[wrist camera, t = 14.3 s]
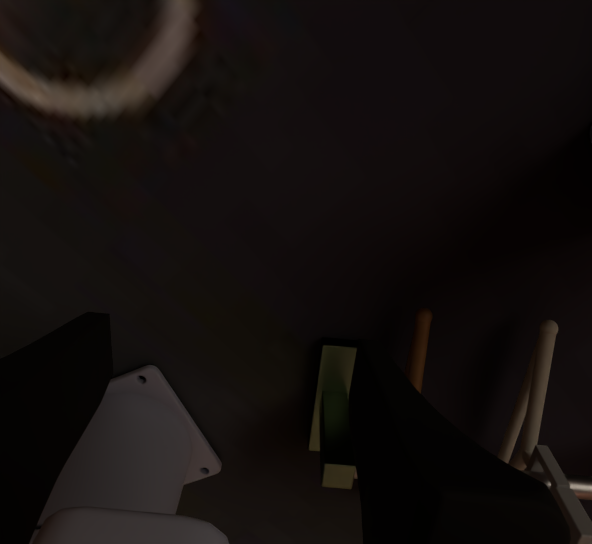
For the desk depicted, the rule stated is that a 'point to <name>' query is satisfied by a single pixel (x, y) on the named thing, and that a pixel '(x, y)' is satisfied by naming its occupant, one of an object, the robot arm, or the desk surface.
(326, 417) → the rail
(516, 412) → the white hanger
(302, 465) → the desk surface
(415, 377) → the beech hanger
